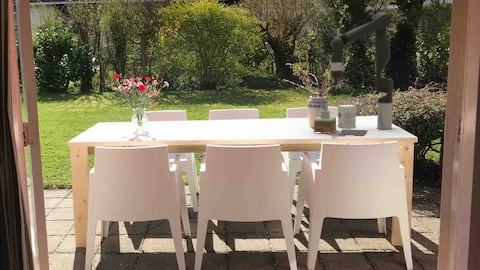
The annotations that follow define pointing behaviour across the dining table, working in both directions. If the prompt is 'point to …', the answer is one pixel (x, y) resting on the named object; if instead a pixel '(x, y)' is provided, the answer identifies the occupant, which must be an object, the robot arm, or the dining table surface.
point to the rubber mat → (353, 132)
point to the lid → (325, 117)
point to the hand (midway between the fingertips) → (336, 95)
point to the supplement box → (347, 116)
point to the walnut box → (325, 126)
